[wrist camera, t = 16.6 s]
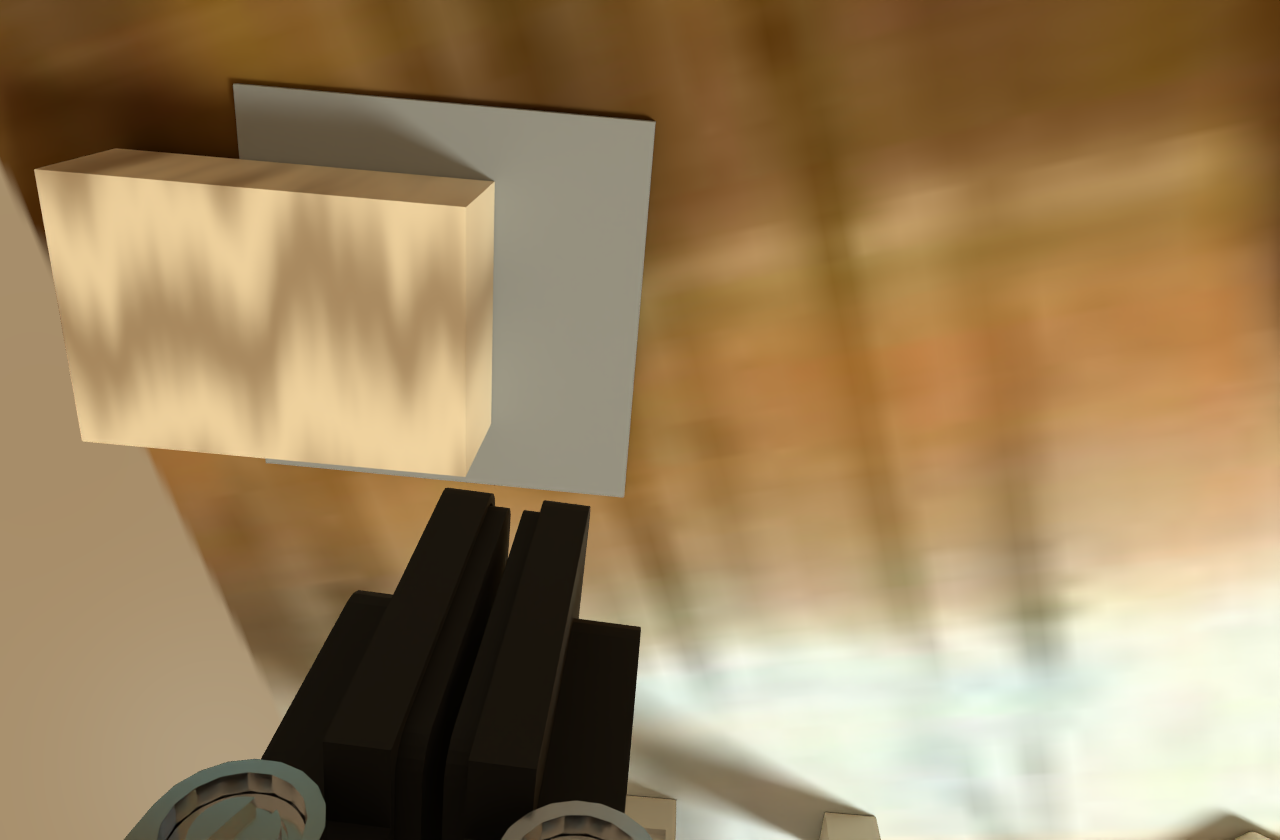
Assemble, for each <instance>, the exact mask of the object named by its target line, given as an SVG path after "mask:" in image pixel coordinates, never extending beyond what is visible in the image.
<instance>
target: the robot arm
mask: <svg viewBox="0 0 1280 840" xmlns="http://www.w3.org/2000/svg"><path fill="white" fill-rule="evenodd" d="M510 516H511V514H510V508H503V507H496V506H495V497H494V494H492V493H484V492H477V491H469V490H461V489H454V488H445V490H444V491H443V493H442V495H441V497H440V499H439V501H438V503H437V505H436V507H435V509H434V511H433V514H432V516H431V518H430V520H429V522H428V524H427V526H426V528H425V530H424V532H423V534H422V536H421V538H420V540H419V543H418V545H417V547H416V549H415V551H414V553H413V555H412V557H411V559H410V561H409V563H408V565H407V567H406V569H405V572H404V574H403V576H402V578H401V580H400V582H399V584H398V586H397V588H396V590H395V592H394V594H393V595H391V594H384V593H376V592H368V591H361V590H358V591H356V592H355V593H353V594H352V596H351V597H350V599H349V600H348V601H347V603H346V605H345V607H344V609H343V611H342V612H341V614H340V616H339V618H338V620H337V621H336V623H335V625H334V627H333V629H332V631H331V632H330V634H329V636H328V638H327V640H326V641H325V643H324V645H323V647H322V649H321V651H320V652H319V654H318V656H317V658H316V660H315V662H314V663H313V665H312V667H311V669H310V671H309V672H308V674H307V676H306V678H305V680H304V682H303V683H302V685H301V687H300V689H299V691H298V692H297V694H296V696H295V698H294V700H293V702H292V703H291V705H290V707H289V709H288V711H287V713H286V714H285V716H284V718H283V720H282V722H281V723H280V725H279V727H278V729H277V731H276V733H275V734H274V736H273V738H272V740H271V742H270V744H269V746H268V747H267V749H266V751H265V753H264V754H263V756H262V758H261V760H260V759H250V760H241V761H231V762H226V763H223V764H220V765H217V766H214V767H211V768H208V769H204V770H202V771H199V772H197V773H196V774H194V775H192V776H190V777H189V778H187V779H185V780H183V781H181V782H180V783H178V784H176V785H175V786H173V787H172V788H171V789H170V790H169V791H168V792H167V793H166V794H165V795H164V796H162V797H161V798H160V799H159V800H158V801H157V802H156V803H155V804H154V805H153V806H152V807H151V808H150V809H149V810H148V812H147V813H146V814H145V815H144V817H142V819H141V820H140V821H139V822H138V823H137V825H136V826H135V827H134V828H133V829H132V830H131V832H130V833H129V834H128V835H127V836H126V838H125V839H124V840H653V839H652V838H651V836H650V835H649V834H648V832H647V831H646V830H645V828H643V827H642V826H641V825H639V824H638V823H637V822H635V821H634V820H633V819H631V818H630V817H629V816H628V815H626V814H625V806H626V794H627V783H628V771H629V760H630V748H631V737H632V726H633V714H634V703H635V691H636V680H637V668H638V657H639V646H640V633H641V627H637V626H629V625H621V624H614V623H606V622H598V621H591V620H583V619H579V610H580V601H581V592H582V583H583V574H584V565H585V556H586V547H587V538H588V529H589V519H590V506H584V505H576V504H569V503H561V502H553V501H546V500H545V501H543V504H542V507H541V511H540V512H534V511H526V510H524V511H523V514H522V516H521V520H520V523H519V526H518V529H517V532H516V535H515V538H514V541H513V545H512V548H511V551H510V554H509V557H508V548H509V533H510Z"/></svg>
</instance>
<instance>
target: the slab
mask: <svg viewBox="0 0 1280 840" xmlns="http://www.w3.org/2000/svg"><path fill="white" fill-rule="evenodd" d="M34 171H35V177H36V183H37V188H38V194H39V200H40V205H41V211H42V217H43V222H44V228H45V234H46V239H47V245H48V251H49V256H50V262H51V268H52V273H53V279H54V284H55V290H56V295H57V301H58V307H59V313H60V319H61V324H62V329H63V336H64V341H65V347H66V353H67V358H68V364H69V370H70V375H71V380H72V387H73V392H74V398H75V403H76V409H77V415H78V420H79V426H80V432H81V437H82V441H86V442H96V443H107V444H118V445H129V446H139V447H150V448H160V449H171V450H182V451H193V452H203V453H214V454H225V455H235V456H246V457H257V458H268V459H278V460H289V461H300V462H310V463H321V464H332V465H342V466H353V467H364V468H375V469H385V470H396V471H407V472H417V473H428V474H439V475H450V476H460V477H466V475H467V473H468V471H469V468H470V466H471V464H472V462H473V460H474V458H475V456H476V454H477V452H478V450H479V448H480V446H481V444H482V442H483V440H484V437H485V435H486V433H487V431H488V429H489V427H490V425H491V403H492V335H493V268H494V200H495V181H483V180H472V179H461V178H449V177H438V176H426V175H415V174H403V173H392V172H381V171H369V170H358V169H346V168H335V167H324V166H312V165H301V164H289V163H278V162H266V161H255V160H244V159H232V158H221V157H209V156H198V155H187V154H175V153H164V152H152V151H141V150H129V149H118V148H115V149H111V150H107V151H103V152H99V153H96V154H92V155H88V156H84V157H80V158H76V159H72V160H68V161H64V162H60V163H56V164H52V165H49V166H45V167H41V168H37V169H34Z"/></svg>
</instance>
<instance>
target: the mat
mask: <svg viewBox="0 0 1280 840" xmlns="http://www.w3.org/2000/svg"><path fill="white" fill-rule="evenodd" d="M233 91H234V102H235V114H236V125H237V137H238V148H239V159H244V160H255V161H266V162H278V163H289V164H301V165H312V166H324V167H335V168H346V169H358V170H369V171H381V172H392V173H403V174H415V175H426V176H438V177H449V178H461V179H472V180H483V181H495V200H494V268H493V335H492V403H491V425H490V427H489V429H488V431H487V433H486V435H485V437H484V440H483V442H482V444H481V446H480V448H479V450H478V452H477V454H476V456H475V458H474V460H473V462H472V464H471V466H470V468H469V471H468V473H467V475H466V477H460V476H450V475H439V474H428V473H417V472H407V471H396V470H385V469H375V468H364V467H353V466H342V465H332V464H321V463H310V462H300V461H289V460H278V459H268V458H266V463H274V464H284V465H294V466H305V467H315V468H325V469H336V470H346V471H356V472H367V473H377V474H387V475H397V476H408V477H418V478H428V479H439V480H449V481H459V482H470V483H480V484H490V485H501V486H511V487H521V488H531V489H542V490H552V491H562V492H573V493H583V494H593V495H604V496H614V497H624V492H625V480H626V468H627V456H628V444H629V432H630V420H631V408H632V396H633V384H634V372H635V361H636V349H637V337H638V325H639V313H640V301H641V289H642V277H643V265H644V253H645V241H646V229H647V217H648V205H649V193H650V182H651V170H652V158H653V146H654V134H655V122H656V121H649V120H638V119H627V118H616V117H605V116H594V115H583V114H572V113H561V112H550V111H539V110H528V109H516V108H505V107H494V106H483V105H472V104H461V103H450V102H439V101H428V100H417V99H406V98H395V97H384V96H373V95H362V94H351V93H339V92H328V91H317V90H306V89H295V88H284V87H273V86H262V85H251V84H240V83H235V84H233Z"/></svg>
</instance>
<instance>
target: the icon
mask: <svg viewBox="0 0 1280 840" xmlns="http://www.w3.org/2000/svg"><path fill="white" fill-rule="evenodd" d="M1234 840H1271V839H1269V838H1267V837H1265V836H1263V835H1261V834H1258V833H1256V832H1248V833H1246V834H1244V835H1242V836H1240V837H1238V838H1236V839H1234Z"/></svg>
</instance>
